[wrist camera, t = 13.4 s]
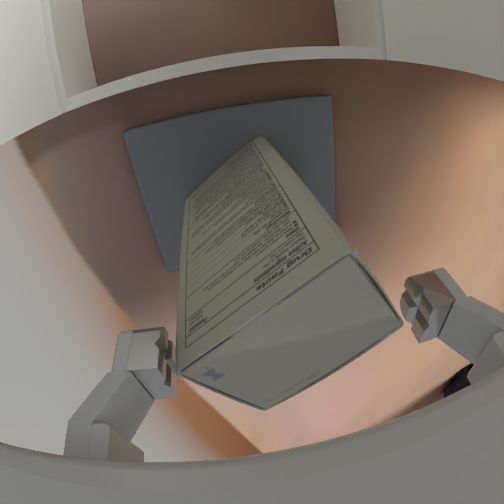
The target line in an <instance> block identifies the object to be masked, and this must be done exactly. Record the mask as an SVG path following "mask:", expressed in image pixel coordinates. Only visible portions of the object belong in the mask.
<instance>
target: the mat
mask: <svg viewBox="0 0 504 504" xmlns="http://www.w3.org/2000/svg"><path fill="white" fill-rule="evenodd" d="M123 135H124V139H125V142H126V146H127V150H128V153H129V157H130V160H131V164H132V167H133V170H134V174H135V177H136V180H137V184H138V187H139V190H140V193H141V196H142V199H143V203H144V206H145V209H146V212H147V215H148V218H149V221H150V224H151V227H152V230H153V232H154V235H155V238H156V241H157V244H158V247H159V249H160V252H161V255H162V258H163V260H164V263H165V266H166V269H167V271H174V270H179V268H180V253H181V240H182V229H183V217H184V207H185V201H186V199H187V198H188V197H189V196H190V195H191V194H192V193H193V192H194V191H195V190H196V189H197V188H198V187H199V186H200V185H202V184H203V183H204V182H205V181H206V180H207V179H208V178H209V177H210V176H211V175H212V174H214V173H215V172H216V171H217V170H218V169H219V168H220V167H221V166H222V165H224V164H225V163H226V162H227V161H228V160H229V159H231V158H232V157H233V156H234V155H235V154H236V153H238V152H239V151H240V150H241V149H242V148H244V147H245V146H246V145H247V144H249V143H250V142H251V141H252V140H254V139H255V138H256V137H257V136H263V137H264V138H265V139H266V140H267V141H268V142H269V143H270V144H271V145H272V146H273V148H274V149H275V150H276V151H277V152H278V153H279V154H280V155H281V157H282V158H283V159H284V160H285V161H286V162H287V164H288V165H289V166H290V167H291V168H292V169H293V171H294V172H295V173H296V174H297V175H298V177H299V178H300V179H301V180H302V182H303V183H304V184H305V185H306V187H307V188H308V189H309V190H310V191H311V193H312V194H313V195H314V196H315V198H316V199H317V200H318V201H319V203H320V204H321V205H322V207H323V208H324V209H325V210H326V212H327V213H328V214H329V216H330V217H331V218H332V220H333V221H334V222H335V216H336V186H335V143H334V121H333V104H332V96H330V95H321V96H307V97H296V98H286V99H277V100H269V101H261V102H254V103H247V104H241V105H235V106H229V107H223V108H217V109H212V110H207V111H202V112H197V113H192V114H188V115H183V116H179V117H174V118H170V119H166V120H162V121H158V122H154V123H150V124H146V125H143V126H139V127H136V128H132V129H129V130H125V131H124V132H123Z"/></svg>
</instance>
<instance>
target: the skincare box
mask: <svg viewBox="0 0 504 504" xmlns="http://www.w3.org/2000/svg"><path fill="white" fill-rule="evenodd" d="M402 326H403V321H402V319H401V317H400V316H399V314H398V312H397V311H396V309H395V307H394V306H393V304H392V302H391V300H390V299H389V297H388V296H387V294H386V293H385V291H384V290H383V288H382V287H381V285H380V284H379V282H378V281H377V279H376V278H375V276H374V275H373V274H372V272H371V271H370V269H369V268H368V266H367V265H366V264H365V262H364V261H363V259H362V258H361V257H360V255H359V254H358V253H357V251H356V250H355V248H354V247H353V246H352V244H351V243H350V242H349V240H348V239H347V238H346V236H345V235H344V234H343V232H342V231H341V230H340V229H339V227H338V226H337V225H336V223H335V222H334V221H333V220H332V218H331V217H330V216H329V214H328V213H327V212H326V210H325V209H324V208H323V207H322V205H321V204H320V203H319V201H318V200H317V199H316V198H315V196H314V195H313V194H312V193H311V191H310V190H309V189H308V188H307V187H306V185H305V184H304V183H303V182H302V180H301V179H300V178H299V177H298V175H297V174H296V173H295V172H294V171H293V169H292V168H291V167H290V166H289V165H288V164H287V162H286V161H285V160H284V159H283V158H282V157H281V155H280V154H279V153H278V152H277V151H276V150H275V149H274V148H273V146H272V145H271V144H270V143H269V142H268V141H267V140H266V139H265V138H264V137H263V136H257V137H256V138H255V139H254V140H252V141H251V142H250V143H249V144H247V145H246V146H245V147H244V148H242V149H241V150H240V151H239V152H238V153H236V154H235V155H234V156H233V157H232V158H231V159H229V160H228V161H227V162H226V163H225V164H224V165H222V166H221V167H220V168H219V169H218V170H217V171H216V172H215V173H214V174H212V175H211V176H210V177H209V178H208V179H207V180H206V181H205V182H204V183H203V184H202V185H200V186H199V187H198V188H197V189H196V190H195V191H194V192H193V193H192V194H191V195H190V196H189V197H188V198H187V199H186V201H185V207H184V217H183V229H182V240H181V253H180V268H179V283H178V304H177V330H176V369H175V370H176V375H178V376H181V377H183V378H185V379H188V380H190V381H192V382H194V383H196V384H198V385H200V386H203V387H205V388H207V389H209V390H211V391H213V392H216V393H218V394H221V395H223V396H225V397H228V398H230V399H233V400H235V401H238V402H240V403H243V404H246V405H249V406H251V407H254V408H257V409H259V410H268V409H270V408H272V407H273V406H275V405H278V404H280V403H281V402H283V401H285V400H288V399H289V398H291V397H293V396H295V395H297V394H299V393H300V392H302V391H304V390H306V389H307V388H309V387H311V386H313V385H315V384H316V383H318V382H320V381H321V380H323V379H325V378H327V377H328V376H330V375H331V374H333V373H335V372H336V371H338V370H340V369H341V368H343V367H344V366H345V365H348V364H349V363H350V362H352V361H354V360H355V359H357V358H358V357H360V356H361V355H363V354H364V353H366V352H367V351H369V350H370V349H371V348H373V347H374V346H376V345H377V344H379V343H380V342H382V341H383V340H385V339H386V338H387V337H389V336H390V335H391V334H393V333H394V332H396V331H397V330H399V329H400V328H401V327H402Z"/></svg>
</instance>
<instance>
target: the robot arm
mask: <svg viewBox="0 0 504 504" xmlns="http://www.w3.org/2000/svg"><path fill="white" fill-rule="evenodd" d="M404 287H405V288H406V290H405V292H404V293H403V294H402V295H401V300H400V307H401V312H402V314H403V316H404V318H405V320H406V321H408V322H410V323H412V327H411V330H412V332H413V334H414V335H415V337H416V339H417V341H418V342H419V343H422V342H425V341H428V340H431V339H434V338H437V337H438V339H440V340H441V341H443V342H444V343H445V344H447V345H448V346H449V347H451V348H452V349H454V350H455V351H456V352H458V353H459V354H460V355H462V356H463V357H464V358H466V359H467V360H469V361H470V362H471V363H473V364H474V366H473V367H472V368H471V370H470V371H469V373H468V375H467V378H468V380H469V382H470V383H471V385H469V386H468V387H466V388H464V389H462V390H460V391H458V392H456V393H454V394H452V395H450V396H447V397H445V398H443V399H441V400H439V401H437V402H435V403H432V404H430V405H428V406H425V407H423V408H421V409H418V410H416V411H414V412H411V413H409V414H406V415H403V416H401V417H398V418H396V419H393V420H390V421H387V422H385V423H382V424H379V425H376V426H373V427H370V428H367V429H364V430H361V431H358V432H354V433H351V434H348V435H344V436H341V437H337V438H333V439H329V440H326V441H322V442H318V443H314V444H309V445H305V446H300V447H296V448H291V449H286V450H281V451H275V452H269V453H263V454H257V455H251V456H243V457H235V458H227V459H216V460H204V461H188V462H144V452H143V451H142V450H141V449H139V448H138V447H137V446H135V445H134V444H132V443H131V440H132V438H133V436H134V435H135V433H136V431H137V430H138V428H139V426H140V424H141V423H142V421H143V419H144V417H145V416H146V414H147V412H148V411H149V409H150V407H151V406H152V404H153V402H154V400H153V399H162V398H172V397H178V379H177V378H176V376H175V374H174V373H175V372H176V370H175V369H176V349H175V346H174V344H173V342H171V341H170V340H168V333H167V331H166V329H165V327H157V328H148V329H139V330H131V331H122V332H120V334H119V335H118V340H117V345H116V350H115V356H114V361H113V366H112V372H111V373H107V374H106V376H105V377H104V378H103V379H102V380H101V382H100V383H99V384H98V385H97V386H96V388H95V389H94V390H93V391H92V393H91V394H90V395H89V396H88V397H87V399H86V400H85V401H84V402H83V404H82V405H81V406H80V407H79V408H78V410H77V411H76V412H75V413H74V415H73V416H72V417H71V418H70V420H69V421H68V427H67V434H66V440H65V448H64V455H63V456H62V455H56V454H50V453H44V452H39V451H34V450H29V449H25V448H20V447H16V446H12V445H8V444H4V443H1V442H0V504H504V313H503V312H501V311H499V310H497V309H495V308H493V307H491V306H489V305H487V304H485V303H483V302H481V301H479V300H477V299H475V298H473V297H471V296H469V297H467V296H466V294H465V293H464V292H463V291H462V289H461V288H460V287H459V285H458V284H457V283H456V282H455V280H454V279H453V278H452V277H451V276H450V274H449V273H448V272H447V271H446V270H445V269H444V268H439V269H435V270H432V271H428V272H424V273H421V274H417V275H414V276H410V277H408V278H407V279H406V280H405V284H404Z"/></svg>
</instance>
